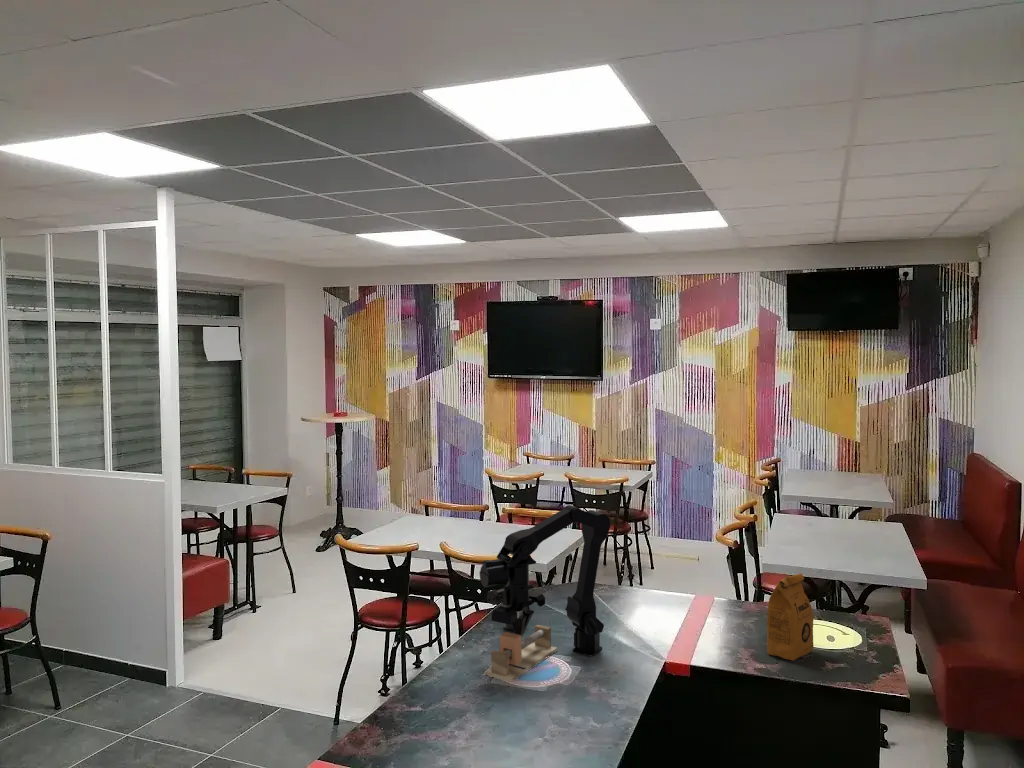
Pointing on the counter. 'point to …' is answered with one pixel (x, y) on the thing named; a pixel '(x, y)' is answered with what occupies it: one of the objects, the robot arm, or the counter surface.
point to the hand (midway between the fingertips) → (519, 638)
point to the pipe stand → (532, 654)
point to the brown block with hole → (512, 646)
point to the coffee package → (789, 620)
